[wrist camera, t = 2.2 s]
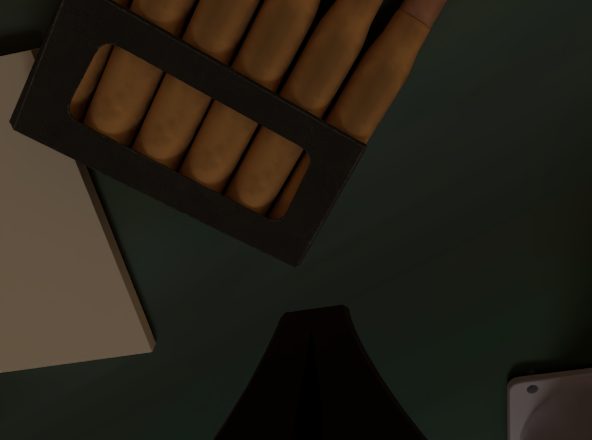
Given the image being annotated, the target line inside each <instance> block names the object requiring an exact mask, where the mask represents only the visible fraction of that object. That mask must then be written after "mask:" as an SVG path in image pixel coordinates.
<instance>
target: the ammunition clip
mask: <svg viewBox="0 0 592 440" xmlns="http://www.w3.org/2000/svg"><path fill="white" fill-rule="evenodd" d="M195 1H196V0H133V2H132V3H131V0H60V2H59V4H58V7H57V9H56V11H55V14H54V16H53V19H52V21H51V23H50V26H49V28H48V30H47V33H46V35H45V38H44V40H43V42H42V45H41V47H40V49H39V52H38V54H37V56H36V59H35V61H34V64H33V66H32V68H31V71H30V73H29V75H28V78H27V80H26V83H25V85H24V87H23V90H22V92H21V94H20V97H19V99H18V102H17V104H16V106H15V109H14V111H13V113H12V116H11V118H10V121H9V123H10V124H11V126H12V129H13V130H14V131H17V132H19V133H21V134H23V135H25V136H27V137H29V138H31V139H33V140H35V141H37V142H39V143H41V144H43V145H45V146H47V147H49V148H51V149H53V150H55V151H57V152H59V153H61V154H63V155H66V156H68V157H70V158H72V159H74V160H76V161H78V162H80V163H82V164H84V165H86V166H88V167H90V168H92V169H94V170H96V171H98V172H100V173H102V174H104V175H106V176H108V177H110V178H113V179H115V180H117V181H119V182H121V183H123V184H125V185H127V186H129V187H131V188H133V189H135V190H137V191H139V192H141V193H143V194H145V195H147V196H149V197H151V198H153V199H155V200H157V201H159V202H162V203H164V204H166V205H168V206H170V207H172V208H174V209H176V210H178V211H180V212H182V213H184V214H186V215H188V216H190V217H192V218H194V219H196V220H198V221H200V222H202V223H204V224H206V225H209V226H211V227H213V228H215V229H217V230H219V231H221V232H223V233H225V234H227V235H229V236H231V237H233V238H235V239H237V240H239V241H241V242H243V243H245V244H247V245H249V246H251V247H253V248H255V249H258V250H260V251H262V252H264V253H266V254H268V255H270V256H272V257H274V258H276V259H278V260H280V261H282V262H284V263H286V264H288V265H290V266H292V267H294V268H296V267H298V266H300V264H301V262H302V260H303V259H304V257H305V255H306V253H307V252H308V250H309V248H310V246H311V245H312V243H313V241H314V239H315V238H316V236H317V234H318V232H319V231H320V229H321V227H322V225H323V223H324V222H325V220H326V218H327V216H328V215H329V213H330V211H331V209H332V208H333V206H334V204H335V202H336V201H337V199H338V197H339V195H340V194H341V192H342V190H343V188H344V186H345V185H346V183H347V181H348V179H349V178H350V176H351V174H352V172H353V171H354V169H355V167H356V165H357V164H358V162H359V160H360V158H361V157H362V155H363V153H364V151H365V150H366V147H367V146H366V143H367V142H368V140H369V139H370V137H371V135H372V134H373V132H374V131H375V129H376V127H377V126H378V124H379V123H380V121H381V119H382V118H383V116H384V115H385V113H386V111H387V110H388V108H389V107H390V105H391V103H392V102H393V100H394V98H395V97H396V95H397V94H398V92H399V90H400V89H401V87H402V86H403V84H404V82H405V81H406V79H407V77H408V75H409V73H410V71H411V68H412V66H413V63H414V61H415V58H416V56H417V53H418V51H419V50H420V48H421V46H422V44H423V43H424V41H425V39H426V37H427V36H428V34H429V32H430V28H431V27H432V25H433V23H434V22H435V20H436V19H437V17H438V15H439V14H440V12H441V10H442V9H443V7H444V5H445V3H446V1H447V0H404V1H403V3H402V4H401V6H400V8H399V9H398V10H397V11H396V12H395V14H394V15H393V17H392V18H391V20H390V21H389V23H388V25H387V26H386V28H385V29H384V31H383V32H382V33H381V34H380V36H379V37H378V38H377V39H376V40H375V41H374V42H373V44H372V45H371V46H370V47H369V48H368V50H367V51H366V53H365V54H364V56H363V57H362V59H361V61H360V62H359V64H358V66H357V67H356V69H355V71H354V72H353V74H352V76H351V77H350V79H349V81H348V82H347V84H346V86H345V87H344V89H343V91H342V92H341V94H340V96H339V97H338V99H337V101H336V102H335V104H334V106H333V107H332V109H331V111H330V113H329V114H328V115H326V114H324V113H325V112H326V110H327V108H328V106H329V105H330V103H331V101H332V99H333V98H334V96H335V94H336V93H337V91H338V89H339V87H340V86H341V84H342V82H343V80H344V79H345V77H346V75H347V74H348V72H349V70H350V68H351V67H352V65H353V63H354V61H355V60H356V58H357V56H358V55H359V53H360V51H361V49H362V47H363V44H364V42H365V39H366V36H367V34H368V31H369V28H370V25H371V23H372V21H373V19H374V17H375V15H376V13H377V12H378V10H379V8H380V6H381V4H382V2H383V0H336V1H335V2H334V4H333V5H332V6H331V7H330V9H329V10H328V11H327V12H326V14H325V15H324V16H323V17H322V19H321V20H320V21H319V23H318V25H317V26H316V28H315V30H314V31H313V33H312V35H311V37H310V39H309V41H308V42H307V44H306V46H305V48H304V50H303V51H302V53H301V55H300V57H299V59H298V61H297V62H296V64H295V66H294V68H293V70H292V71H291V73H290V75H289V77H288V79H287V81H286V82H285V84H284V86H283V88H282V89H281V88H279V85H280V83H281V81H282V79H283V77H284V75H285V73H286V72H287V70H288V68H289V66H290V64H291V62H292V60H293V58H294V57H295V55H296V53H297V51H298V49H299V47H300V45H301V43H302V42H303V40H304V38H305V36H306V34H307V32H308V30H309V28H310V27H311V25H312V23H313V20H314V18H315V16H316V13H317V10H318V7H319V4H320V1H321V0H264V2H263V4H262V6H261V8H260V10H259V12H258V14H257V16H256V18H255V20H254V22H253V24H252V26H251V28H250V30H249V32H248V34H247V36H246V38H245V40H244V42H243V44H242V46H241V48H240V50H239V52H238V54H237V56H236V58H235V60H234V61H232V60H231V59H232V57H233V55H234V53H235V51H236V49H237V47H238V45H239V43H240V41H241V39H242V37H243V35H244V33H245V31H246V28H247V26H248V24H249V22H250V20H251V18H252V16H253V14H254V12H255V10H256V8H257V6H258V4H259V2H260V0H199V2H198V5H197V7H196V9H195V11H194V13H193V15H192V18H191V20H190V22H189V24H188V26H187V28H186V31H185V33H183V32H182V30H183V28H184V25H185V23H186V21H187V19H188V16H189V14H190V12H191V10H192V7H193V5H194V3H195ZM109 57H110V58H109ZM108 59H109V60H108ZM107 61H108V62H107ZM106 62H107V65H106ZM105 65H106V67H105ZM104 67H105V70H104ZM103 70H104V72H103ZM102 72H103V74H102ZM164 72H166V74H165V76H164V78H163V81H162V83H161V85H160V87H159V89H158V91H157V94H156V96H155V98H154V100H153V102H152V104H151V107H150V109H149V111H148V113H147V115H146V118H145V120H144V122H143V124H142V126H141V128H140V131H139V133H137V131H138V129H139V127H140V124H141V122H142V120H143V118H144V115H145V113H146V111H147V109H148V106H149V104H150V102H151V100H152V97H153V95H154V93H155V91H156V88H157V86H158V84H159V82H160V79H161V77H162V75H163V73H164ZM101 75H102V77H101ZM100 77H101V79H100ZM99 80H100V82H99ZM98 82H99V84H98ZM97 85H98V86H97ZM96 87H97V89H96ZM95 90H96V91H95ZM94 92H95V94H94ZM93 95H94V96H93ZM92 97H93V99H92ZM212 98H213V99H214V101H213V103H212V105H211V107H210V109H209V111H208V113H207V115H206V117H205V119H204V121H203V123H202V125H201V127H200V129H199V131H198V133H197V135H196V137H195V139H194V141H193V143H192V145H191V147H190V149H189V151H188V153H187V155H186V157H184V155H185V153H186V151H187V149H188V147H189V145H190V143H191V141H192V139H193V137H194V135H195V133H196V131H197V129H198V127H199V125H200V123H201V121H202V119H203V116H204V114H205V112H206V110H207V108H208V106H209V104H210V102H211V100H212ZM91 100H92V101H91ZM90 102H91V103H90ZM258 124H260V125H262V126H261V128H260V130H259V131H258V133H257V135H256V137H255V139H254V140H253V142H252V144H251V146H250V148H249V149H248V151H247V153H246V155H245V157H244V159H243V160H242V162H241V164H240V166H239V168H238V169H237V171H236V173H235V175H234V177H233V179H232V180H231V181H230V180H229V179H230V177H231V175H232V173H233V171H234V169H235V167H236V165H237V164H238V162H239V160H240V158H241V156H242V154H243V152H244V150H245V148H246V147H247V145H248V143H249V141H250V139H251V137H252V135H253V133H254V132H255V130H256V128H257V126H258ZM303 150H305V151H306V153H305V154H304V156H303V158H302V159H301V161H300V163H299V165H298V166H297V168H296V170H295V171H294V173H293V175H292V176H291V178H290V180H289V181H288V183H287V185H286V186H285V188H284V190H283V191H282V193H281V195H280V196H279V198H278V200H277V201H276V202H274V200H275V198H276V196H277V195H278V193H279V191H280V189H281V188H282V186H283V184H284V183H285V181H286V179H287V177H288V176H289V174H290V172H291V170H292V169H293V167H294V165H295V163H296V162H297V160H298V158H299V157H300V155H301V153H302V151H303Z"/></svg>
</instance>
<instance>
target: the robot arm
mask: <svg viewBox="0 0 592 440" xmlns="http://www.w3.org/2000/svg"><path fill="white" fill-rule="evenodd" d="M531 385H533V386H531ZM529 386H531V387H529ZM213 440H427V438H426V437H425V436H424V435H423V434H422V432H421V431H420V430H419V429H418V427H417V426H416V425H415V424H414V422H413V421H412V420H411V418H410V417H409V416H408V415H407V413H406V412H405V411H404V409H403V408H402V406H401V405H400V404H399V402H398V401H397V399H396V398H395V397H394V395H393V394H392V392H391V391H390V390H389V388H388V387H387V385H386V383H385V382H384V380H383V379H382V377H381V376H380V374H379V372H378V371H377V369H376V368H375V366H374V364H373V363H372V361H371V359H370V358H369V356H368V354H367V352H366V350H365V349H364V347H363V345H362V343H361V341H360V339H359V337H358V335H357V332H356V330H355V328H354V325H353V323H352V320H351V316H350V312H349V308H347V307H346V306H344V305H337V306H330V307H323V308H316V309H309V310H301V311H294V312H287V313H284V315H283V316H282V317H281V318H280V321H279V323H278V326H277V328H276V330H275V332H274V335H273V337H272V339H271V341H270V343H269V345H268V347H267V349H266V351H265V353H264V355H263V357H262V359H261V361H260V363H259V365H258V367H257V369H256V371H255V372H254V374H253V376H252V378H251V380H250V382H249V383H248V385H247V387H246V389H245V390H244V392H243V394H242V396H241V397H240V399H239V400H238V402H237V404H236V405H235V407H234V408H233V410H232V412H231V413H230V415H229V416H228V418H227V420H226V421H225V423H224V424H223V426H222V427H221V429H220V430H219V432H218V433H217V435H216V436H215V438H214V439H213ZM507 440H592V368H587V369H578V370H570V371H562V372H554V373H546V374H537V375H529V376H521V377H516V378H513V379H511V380H510V381H509V383H508V385H507Z"/></svg>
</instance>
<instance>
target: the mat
mask: <svg viewBox="0 0 592 440" xmlns="http://www.w3.org/2000/svg"><path fill="white" fill-rule="evenodd" d="M39 49H40V48H37V49H32V50H28V51H23V52H18V53H13V54H8V55H4V56H0V373H1V372H9V371H16V370H23V369H31V368H38V367H45V366H53V365H60V364H67V363H74V362H82V361H89V360H96V359H104V358H111V357H118V356H126V355H133V354H140V353H148V352H152V351H153V349H154V346H155V344H156V342H155V339H154V337H153V334H152V332H151V329H150V327H149V324H148V322H147V319H146V317H145V314H144V312H143V309H142V307H141V304H140V302H139V299H138V296H137V294H136V291H135V289H134V286H133V284H132V281H131V279H130V276H129V274H128V271H127V269H126V266H125V264H124V261H123V258H122V256H121V253H120V251H119V248H118V246H117V243H116V241H115V238H114V236H113V233H112V231H111V228H110V226H109V223H108V220H107V218H106V215H105V213H104V210H103V208H102V205H101V203H100V200H99V198H98V195H97V193H96V190H95V188H94V185H93V182H92V180H91V177H90V175H89V172H88V170H87V167H86V165H84V164H82V163H80V162H78V161H76V160H74V159H72V158H70V157H68V156H66V155H63V154H61V153H59V152H57V151H55V150H53V149H51V148H49V147H47V146H45V145H43V144H41V143H39V142H37V141H35V140H33V139H31V138H29V137H27V136H25V135H23V134H21V133H19V132H17V131H14V130H13V129H12V126H11V124H10V123H9V121H10V118H11V116H12V113H13V111H14V109H15V106H16V104H17V102H18V99H19V97H20V94H21V92H22V90H23V87H24V85H25V83H26V80H27V78H28V75H29V73H30V71H31V68H32V66H33V64H34V61H35V59H36V56H37V54H38V52H39Z"/></svg>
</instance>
